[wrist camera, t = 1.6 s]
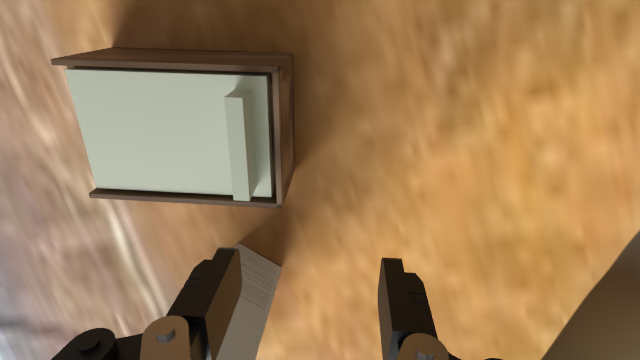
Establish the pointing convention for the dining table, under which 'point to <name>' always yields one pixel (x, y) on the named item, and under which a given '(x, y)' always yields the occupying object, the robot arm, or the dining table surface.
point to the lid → (176, 130)
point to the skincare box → (250, 306)
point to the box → (211, 61)
